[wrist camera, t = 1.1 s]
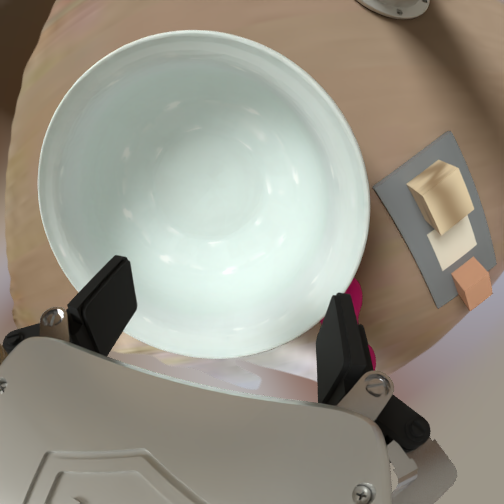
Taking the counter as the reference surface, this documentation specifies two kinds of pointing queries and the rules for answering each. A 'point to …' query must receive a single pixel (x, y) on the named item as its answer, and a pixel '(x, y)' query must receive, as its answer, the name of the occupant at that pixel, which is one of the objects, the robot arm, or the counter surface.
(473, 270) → the terracotta cube
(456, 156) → the board
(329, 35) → the counter surface
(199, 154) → the bowl
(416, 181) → the maple block
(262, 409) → the robot arm
